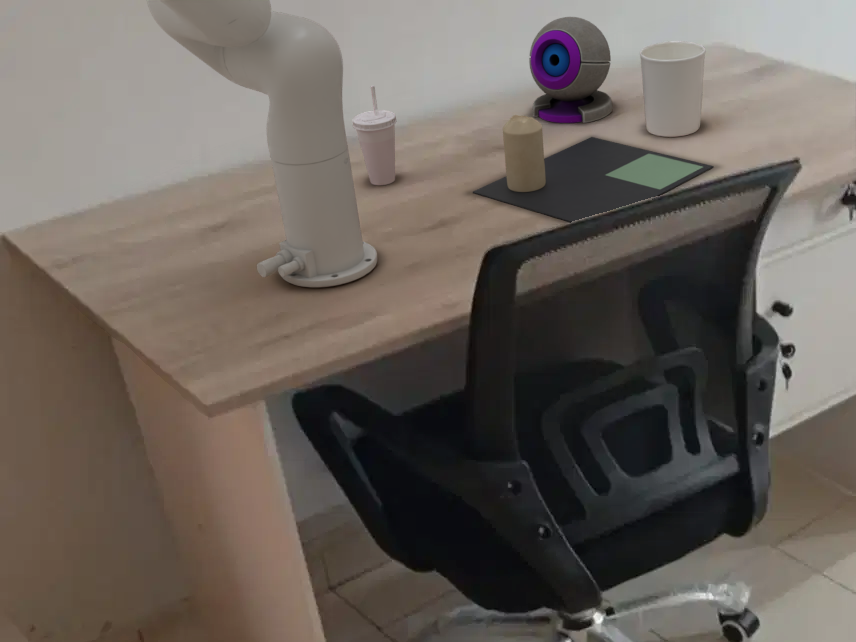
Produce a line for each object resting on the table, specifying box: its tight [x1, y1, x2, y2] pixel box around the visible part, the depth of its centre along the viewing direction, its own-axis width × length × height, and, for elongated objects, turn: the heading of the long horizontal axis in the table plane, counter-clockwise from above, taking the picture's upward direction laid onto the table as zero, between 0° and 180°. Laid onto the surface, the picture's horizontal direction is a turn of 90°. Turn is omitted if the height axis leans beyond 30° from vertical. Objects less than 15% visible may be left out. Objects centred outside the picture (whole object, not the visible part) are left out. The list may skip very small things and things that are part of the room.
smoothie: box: [351, 85, 397, 186], centre depth 181 cm, size 6×6×14 cm
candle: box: [502, 114, 546, 192], centre depth 175 cm, size 6×6×10 cm
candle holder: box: [639, 40, 707, 138], centre depth 190 cm, size 10×10×12 cm
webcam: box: [528, 16, 613, 124], centre depth 200 cm, size 13×13×15 cm
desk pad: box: [472, 136, 714, 223], centre depth 178 cm, size 26×23×1 cm
